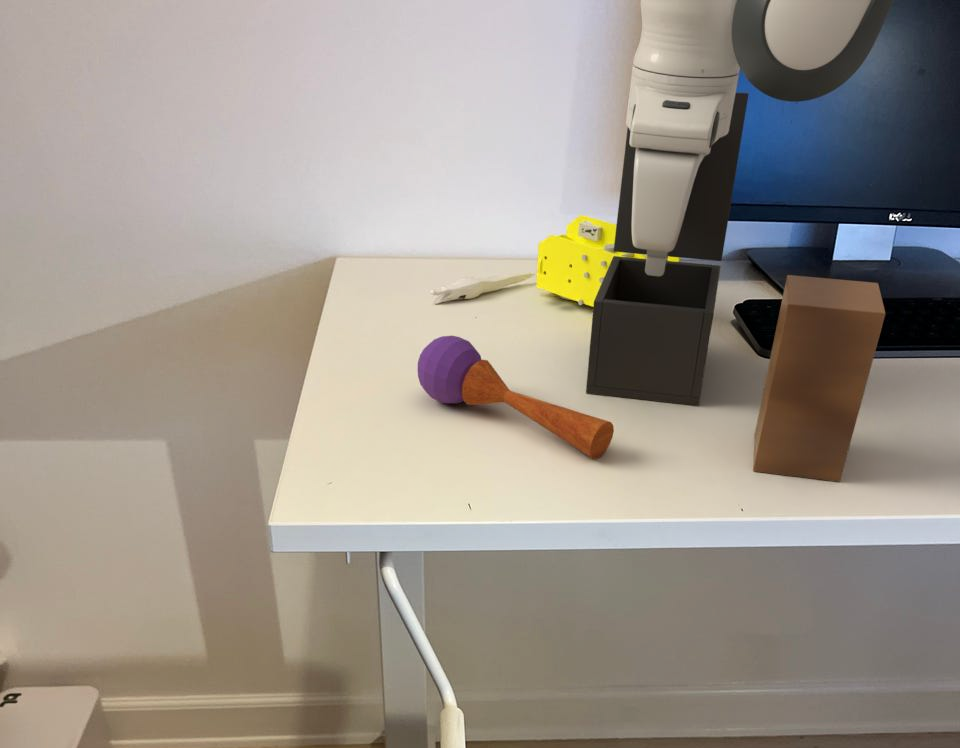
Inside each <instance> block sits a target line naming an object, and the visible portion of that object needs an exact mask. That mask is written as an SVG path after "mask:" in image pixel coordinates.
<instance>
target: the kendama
mask: <svg viewBox="0 0 960 748" xmlns="http://www.w3.org/2000/svg"><path fill="white" fill-rule="evenodd" d="M417 378H418V382H419V384H420V386H421V387H422V389H423V390H424V392H425V393H426V394H427V395H428V396H429V397H430V398H431V399H433V400H435V401H437V402H439V403H442V404H460V403H462V402H463V403H465V404H466V405H468V406H476V405H477V406H479V405H491V404H503V403H505V404H507V405H508V406H510V407H511V408H512V409H514V410H516V411H517V412H519V413H521V414H522V415H524V416H525V417H527V418H529V419H530V420H532V421H533V422H535V423H536V424H537V425H539V426H541V427H543V428H544V429H546V430H547V431H549V432H550V433H552V434H554V435H555V436H557V437H558V438H559V439H561V440H563V441H565V442H566V443H567V444H569V445H571V446H572V447H574V448H575V449H577V450H578V451H580V452H581V453H583V454H585V456H588V457H589V458H590V459H592V460H597V459H600V458H601V457H602V456H603V455H604V454H605V452H606V451H607V450H608V448H609V447H610V445H611V442H612V440H613V437H614V424H613V422H612V421H609V420H606V419H603V418H599V417H597V416H593V415H590V414H587V413H583V412H580V411H578V410H574V409H570V408H567V407H564V406H561V405H558V404H554V403H551V402H548V401H544V400H541V399H538V398H534V397H532V396H528V395H525V394H522V393H519V392H515V391H513V390H511V389H510V388H509V387H508V386H507V384H506V383H505V382H504V380H503V379H502V377H501V376H500V375H499V373H498V372H497V370H496V369H495V368H494V367H493V365H492V364H491V363H490V361H488V360H487V359H482V356H481V354H480V352H478V350H477V349H476V347H475V346H474V345H473V343H471V342H470V341H469V340H467V339H465V338H463V337H461V336H457V335H456V336H455V335H443V336H439V337H437V338H434V339H433V340H432V341H430V342H429V343H428V344H427V345H426V346H425V347H424V348H423V349H422V351H421V353H420V354H419V357H418V361H417Z"/></svg>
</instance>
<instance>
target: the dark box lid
mask: <svg viewBox="0 0 960 748" xmlns="http://www.w3.org/2000/svg"><path fill="white" fill-rule="evenodd" d="M749 95H750V93H749V92H737V91H736V94H735V99H734V104H733V110H732V116H731V121H730V127H729V132H728V134H727V135H725V136H724V137H721V138H719V139H718V140H717V141H716V142H715V143H714V144H713V145H712V146H711V150H710V153H709V154H708V155H706V156H704V158H703V160H702V162H701V163H700V165H699V168H698V170H697V173H696V176H695V180H694V183H693V187H692V190H691V194H690V198H689V201H688V205H687V208H686V212H685V216H684V219H683V223H682V227H681V230H680V233H679V237H678V240H677V243H676V245H675V248H674V249H673V250H672V251H670V252H669V254H668V256H669V257H680V259H691V260H703V261H715V262H722V261H723V255H724V248H725V242H726V237H727V236H726V235H727V229H728V223H729V219H730V218H729V217H730V211H731V206H732V205H731V204H732V198H733V193H734V188H735V187H734V186H735V181H736V174H737V168H738V162H739V157H740V150H741V145H742V138H743V130H744V124H745V119H746V113H747V106H748V100H749ZM629 141H630V129H629V128H628V127H627V130H626V139H625V146H624V147H625V148H624V156H623V165H622V172H621V173H622V175H621V183H620V190H619V200H618V209H617V217H616V234H615V243H614V252H624V253H635V254H646V255H647V250H646V249H639V248H636V247H634V245H633V242H632V200H633V179H634V162H635V153H636V147H631V146H630V143H629Z"/></svg>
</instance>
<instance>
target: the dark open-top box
mask: <svg viewBox="0 0 960 748" xmlns="http://www.w3.org/2000/svg"><path fill="white" fill-rule="evenodd" d="M645 266H646V259H640V258H629V257H618V256H613V258H612V261H611V263H610V265H609V268H608V270H607V272H606V275H605V277H604V279H603V282H602V284H601V286H600V288H599V291H598V293H597V295H596V298H595V300H594V306H593V308H592V317H591V328H590V339H589V340H590V341H589V350H588V351H589V352H588V364H587V376H586V387H585V393H586V394H591V395H599V396H600V395H601V396H607V397H616V398H617V397H618V398H623V399H624V398H626V399H633V400H643V401H652V402H661V403H668V404H669V403H670V404H679V405H686V406H694V407H695V406H697V407H699V405H700V398H701V394H702V393H701V392H702V387H703V381H704V373H705V369H706V362H707V356H708V350H709V345H710V338H711V333H712V332H711V331H712V326H713V320H714V313H715V308H716V301H717V294H718V287H719V281H720V275H721V274H720V273H721V267H722V266H721V265H718V264H707V263H695V262H694V263H693V262H683V261H680V262H674V261H667V265H666V268H665V271H664V274H663V275H662V276H651V275H647V274H646V272H645Z"/></svg>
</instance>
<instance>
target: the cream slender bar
mask: <svg viewBox="0 0 960 748" xmlns="http://www.w3.org/2000/svg"><path fill="white" fill-rule="evenodd" d="M535 276H536V273H535V272H524V273H512V274H511V273H510V274H505V275H504V274H503V275H498V276H489V277H488V276H487V277H463V278H460V279H458V280H456V281H454V282H453V283H451V284H447V285H444V286H441V287H440V288H438V289H431V290H430V292H429V293H430V295H432V296H437V297H436V298H435V299H434V301H433V304H434V305H438V304H441V303H442V302H445V301H448V300H449V301H451V300H452V301H453V300H471V299H475V298H477V297H479V296H480V295H481V294H483V293H488V292H494V291H498V290H500V289H503V288H506V287H508V286H511V285H516V284H518V283H521V282H524V281H526V280H528V279H531V278H534V277H535Z"/></svg>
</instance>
